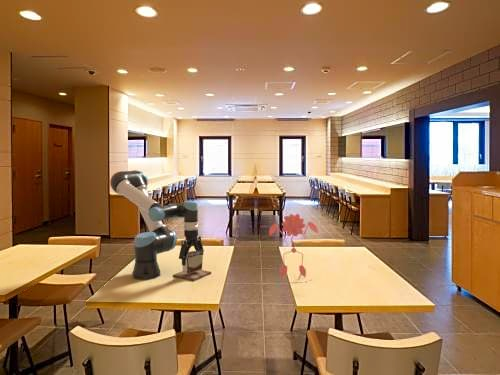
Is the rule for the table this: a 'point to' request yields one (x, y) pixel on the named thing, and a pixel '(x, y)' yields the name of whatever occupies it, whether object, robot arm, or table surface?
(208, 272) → the walnut board
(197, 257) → the food container
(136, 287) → the table surface
